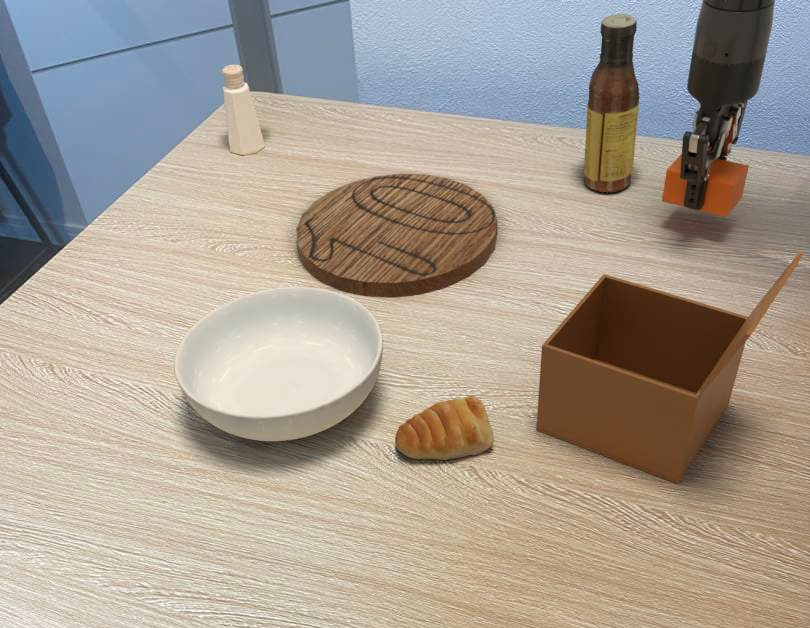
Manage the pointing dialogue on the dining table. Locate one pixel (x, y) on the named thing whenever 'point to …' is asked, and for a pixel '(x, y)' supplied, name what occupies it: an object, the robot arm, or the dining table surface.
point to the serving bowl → (280, 362)
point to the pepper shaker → (240, 113)
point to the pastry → (446, 431)
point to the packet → (709, 186)
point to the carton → (637, 376)
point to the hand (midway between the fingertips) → (702, 196)
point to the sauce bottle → (612, 109)
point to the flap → (751, 323)
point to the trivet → (397, 235)
